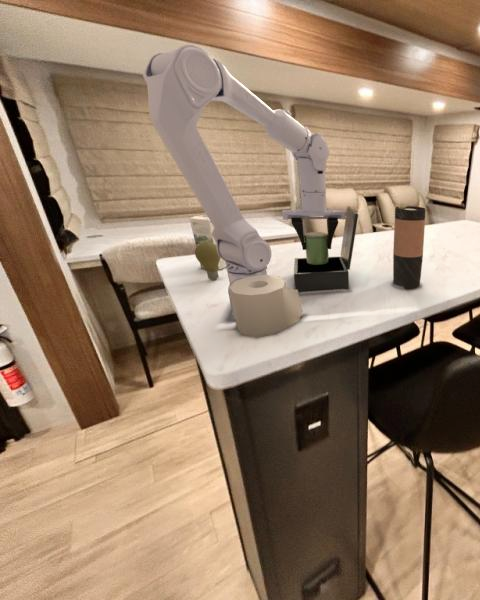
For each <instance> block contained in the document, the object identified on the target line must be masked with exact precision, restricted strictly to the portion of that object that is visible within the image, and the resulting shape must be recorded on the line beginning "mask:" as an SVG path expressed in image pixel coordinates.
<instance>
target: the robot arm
mask: <svg viewBox="0 0 480 600" xmlns="http://www.w3.org/2000/svg"><path fill="white" fill-rule="evenodd" d="M142 77H143V79H144V82H145V83H146V86H147V87H146V88H147V98H148V112H149V119H150V121H151V124H152V127H153V128H154V129H155V131H156V133H157V134H158V136H159V138H160V139H161V141H162V143H163V144H164V146H165V148H166V150H167V151H168V153H169V155H170V156H171V158H172V159H173V161H174V163H175V165H176V166H177V168H178V170H179V171H180V173H181V174H182V177H183V178H184V180H185V181H186V183H187V185H188V186H189V188H190V189H191V191H192V193H193V194H194V196H195V198H196V199H197V201H198V203H199V204H200V206H201V208H202V209H203V212H204V213H205V215H207V216H208V218H209V219H210V221H211V223H212V224H213V226H214V229H213V232H212V236H213V237H214V239H215V241H216V249H217V253H218V255H219V256H220V257H221V258H222V259H223V260H224V261H225V262H226V267H225V268H226V272H227V276H228V282H229V285H228V288H227V293H228V299H229V303H230V309H231V313H232V317H233V318H235V315H234V310H233V305H232V300H231V295H230V290H229V287H230V286H231V285H232V284H233V283H234V281H236V280H239V279H242V278H247V277H248V276H257V275H268V272H267V270H268V265H269V264H270V262H271V260H272V249H271V246H270V244H269V243H268V242H267V241H266V240H265V239H263V238H262V236H260V234H259V232H258V230H257V229H256V228H255V227H254V226H253V225H252V224H251V223H249V222H248V221H247V220H246V219H245V218H244V216H243V214H242V212H241V210H240V209H239V206H238V205H237V203H236V200H235V199H234V197H233V194H232V193H231V191H230V189H229V188H228V185H227V183H226V182H225V179H224V177H223V176H222V174H221V172H220V170H219V168H218V166H217V164H216V163H215V160H214V159H213V156H212V155H211V153H210V150H209V149H208V146H207V145H206V143H205V141H204V139H203V137H202V135H201V133H200V132H199V130H198V127H197V126H198V123H199V120H200V118H201V116H202V113H203V111H204V108H205V107H206V106H207V105H208V104H210V102H211V101H212V102H223V103H225V104H227V105H229V106H230V107H231V108H233V109H235V110H236V111H238V112H240V113H241V114H243V115H245V116H246V117H248V118H250V119H251V120H253V121H255V122H256V123H258V124H260V125H261V126H263V127H264V130H265V133H266V135H267V137H268V138H270V139H271V140H273V141H274V142H276V143H277V144H279V145H281V146H282V147H283V148H285V149H287V150H288V151H290V152H291V155H292V157H293V158H294V160H296V161H297V166H298V177H299V178H298V179H299V190H300V201H301V209H282V220H283V221H288V220H290V221H291V225H292V227H293V228H294V231H295V232H296V234H297V236H298V239H299V241H300V244H301V247H302V251H306V248H305V237H304V234H305V233H304V223H303V222H304V221H303V220H326V231H327V234H328V250H331V249H332V244H333V239H334V236H335V232H336V229H337V227H338V224H339V220H346V213H347V212H346V211H345V210H344V209H343V210H337V209H328V208H327V189H326V169H327V161H328V159H329V157H330V151H331V149H330V148H329V146H328V143H327V141H326V139H325V138H324V137H323V136H322V135H321V134H319V133H312V132H311V131H310V130H309V127H308V126H307V125H303V124H301V123H300V122H299V121H298V120H297V119H295V118H294V117H292V112H290V111H289V110H288V109H282V108H278V109H272V108H271V107H270V106H268V104H266V103H265V102H264V101H263V100H261V98H259V97H258V96H257V95H256V94H254V93H253V92H252V91H251V90H250V89H248V88H247V87H246V86H245V85H244V84H243V83H241V82H240V81H239V80H237V79H236V77H234V76H233V75H232V74H231V73H230V72H229V71H228V69H227V67H226V66H225V65H224V64H223V63H222V62H221V61H220V60H218V59H216V58H213V57H212V56H211V54H209V53H208V52H207V51H206V50H204V49H203V48H201V47H200V46H198V45H195V44H189V43H187V44H183V45H181V46H178V47H177V48H176V49H172V50H170V51H166V52H164V53H163V52H159V53H156V54H154V55H152V56H151V57H150V59H149V60H148V63H147V65H146V67H145V69H144V71H143V73H142Z"/></svg>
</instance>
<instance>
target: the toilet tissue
mask: <svg viewBox="0 0 480 600" xmlns="http://www.w3.org/2000/svg"><path fill="white" fill-rule="evenodd" d="M228 287H229V286H228ZM229 290H230V295H231V300H232V305H233V310H234V315H235V317H234V321H235V325H236V329H237V330H238V331H239V333H240V334H241V335H242V336H248V337H255V338H259V337H266V336H271V335H272V336H273V335H276V334H278V333H280V332H282V331H284V330H286V329H287V328H289V327H291V326H293V325H295V324H298V323H299V322H300V321H301V320H302V318H303V317H304V315H302V314H303V312H304V311H303V306H302V302H301V297H300V294H299V293H300V292H298V290H296V289H295V288H289V287H288V288H287V281H286V280H285V279H284V278H282V277H281V276H277V275H270V274H267V275H257V276H248V277H247V278H242V279H239V280H236V281H234V283H233V284H232V285H231V286H230V287H229ZM301 315H302V316H301Z"/></svg>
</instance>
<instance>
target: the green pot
mask: <svg viewBox="0 0 480 600" xmlns="http://www.w3.org/2000/svg"><path fill="white" fill-rule="evenodd" d="M304 239H305V248H306V250H305V258H306V260H307V263H308V264H312V265H321V264H326V263H328V262H329V257H330V256H329V249H328V232H321V231H311V232H306V233H304Z"/></svg>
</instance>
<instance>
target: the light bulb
mask: <svg viewBox="0 0 480 600" xmlns="http://www.w3.org/2000/svg"><path fill="white" fill-rule="evenodd" d="M194 255H195V256H194V257H195V258H196V260H197V261H198V262H199V264H200V263H201V264H202V266H203V267H204V268H203V269H204V271H205V272H206V274H207V278H208V279H210V280H211V281H216V280H217V279H219V277H220V275H219V271H218V264H219V261H220V256H219V255H218V253H217V249H216V245H215V244H213V243H211V242H203V243H200V244H199V245H198V246H197V247H196V246H195V249H194Z"/></svg>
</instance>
